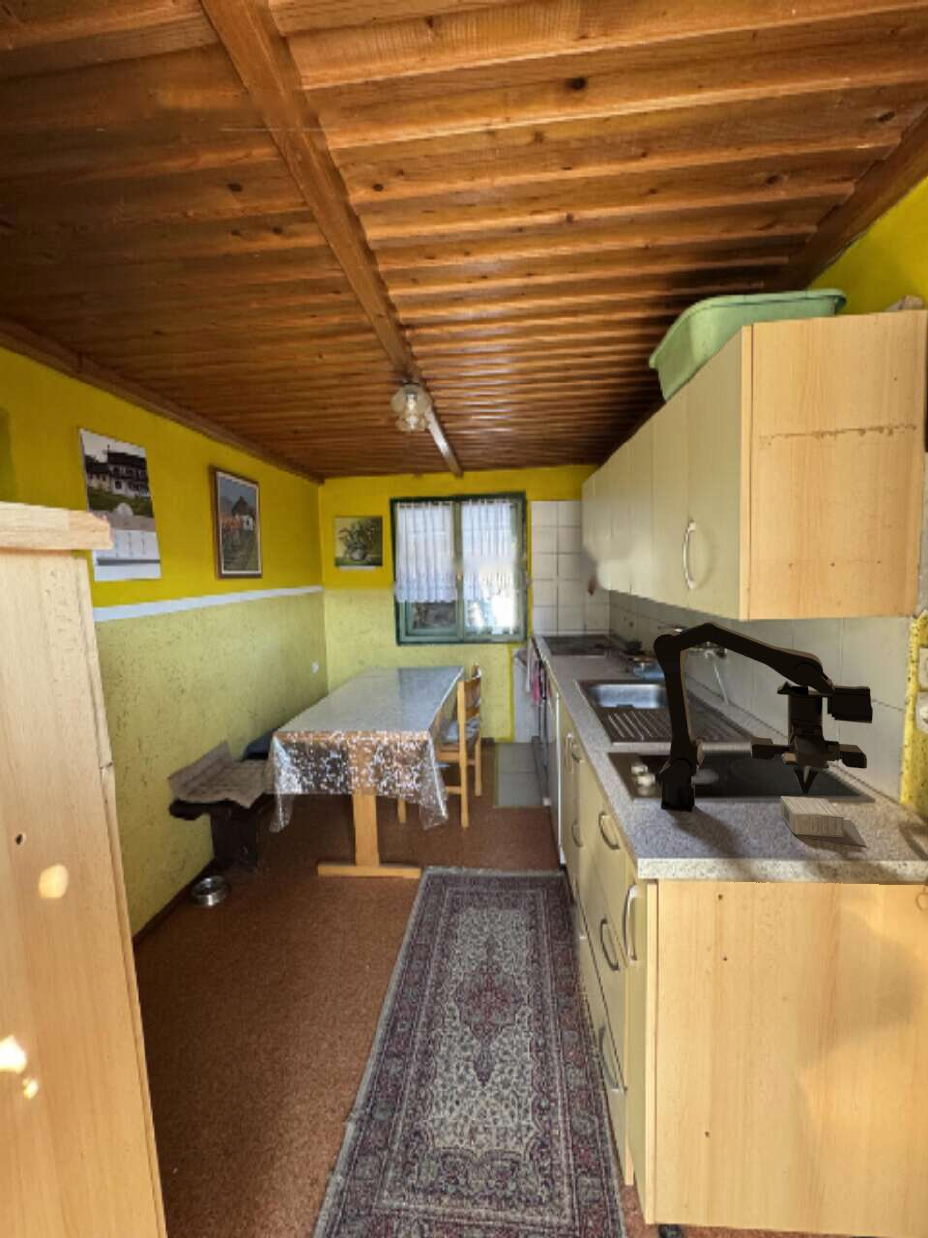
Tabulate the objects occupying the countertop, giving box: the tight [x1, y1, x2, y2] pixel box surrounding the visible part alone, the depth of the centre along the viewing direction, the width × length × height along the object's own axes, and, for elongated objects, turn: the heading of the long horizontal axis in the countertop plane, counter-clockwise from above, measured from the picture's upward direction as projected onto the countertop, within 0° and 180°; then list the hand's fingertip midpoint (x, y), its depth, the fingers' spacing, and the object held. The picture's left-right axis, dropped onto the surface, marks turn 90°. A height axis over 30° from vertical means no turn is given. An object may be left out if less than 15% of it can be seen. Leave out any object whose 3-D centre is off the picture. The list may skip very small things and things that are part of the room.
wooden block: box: [780, 795, 845, 837], centre depth 102 cm, size 8×4×9 cm
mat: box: [795, 819, 867, 848], centre depth 101 cm, size 11×10×1 cm
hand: (804, 793), depth 101 cm, fingers closed
